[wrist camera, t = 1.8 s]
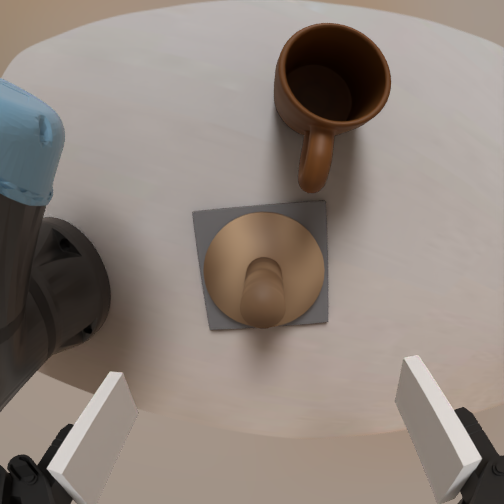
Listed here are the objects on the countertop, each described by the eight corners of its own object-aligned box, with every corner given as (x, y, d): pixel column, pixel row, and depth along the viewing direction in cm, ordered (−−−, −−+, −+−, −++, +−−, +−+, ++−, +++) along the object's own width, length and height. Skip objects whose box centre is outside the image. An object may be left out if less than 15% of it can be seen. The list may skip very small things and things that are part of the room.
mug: (338, 194, 28) (370, 210, 19) (256, 177, 28) (251, 184, 19) (361, 73, 25) (399, 40, 16) (281, 53, 25) (286, 9, 15)
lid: (213, 325, 31) (198, 372, 24) (198, 217, 28) (173, 238, 21) (323, 317, 31) (338, 364, 23) (320, 207, 28) (340, 224, 20)
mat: (210, 326, 32) (209, 329, 32) (193, 211, 29) (192, 212, 28) (327, 319, 31) (328, 321, 31) (324, 200, 28) (325, 201, 28)
